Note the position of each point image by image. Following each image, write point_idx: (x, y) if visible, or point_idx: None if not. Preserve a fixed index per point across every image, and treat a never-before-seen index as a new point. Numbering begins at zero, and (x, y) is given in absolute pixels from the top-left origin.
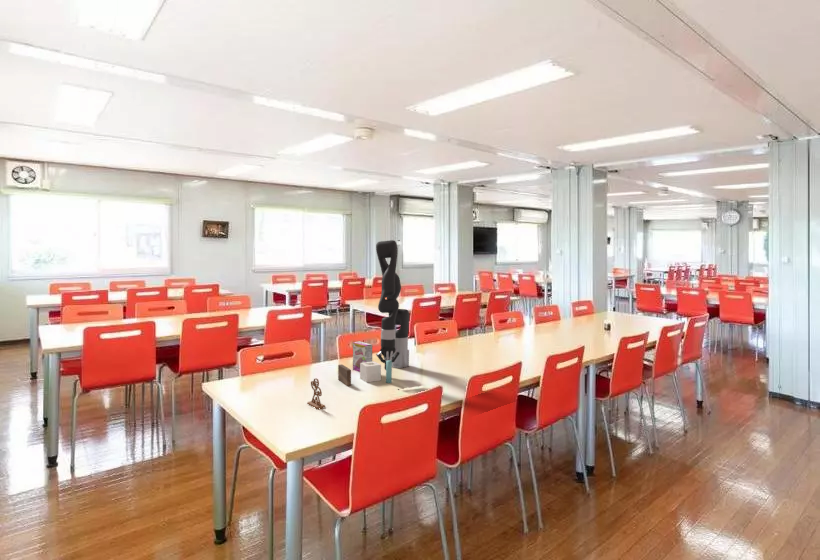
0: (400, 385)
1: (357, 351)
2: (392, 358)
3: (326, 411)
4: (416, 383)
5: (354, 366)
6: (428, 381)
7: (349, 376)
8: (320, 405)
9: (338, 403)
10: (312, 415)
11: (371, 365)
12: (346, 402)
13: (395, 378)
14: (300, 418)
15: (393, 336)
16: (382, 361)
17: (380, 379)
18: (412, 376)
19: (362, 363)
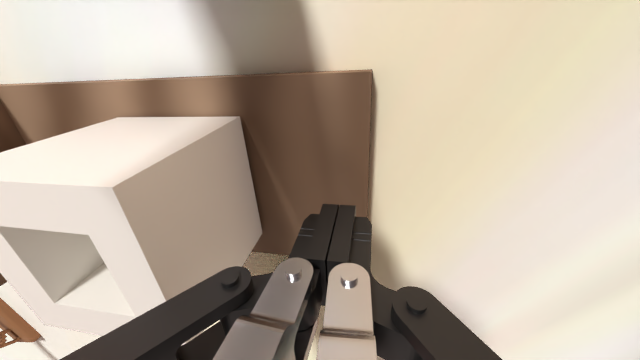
0: None
1: None
2: (438, 354)
3: (52, 354)
4: (477, 333)
5: None
6: (591, 346)
7: (2, 277)
8: (19, 338)
9: (71, 332)
10: (25, 354)
11: (88, 323)
12: (95, 337)
13: (424, 184)
14: (5, 352)
15: None
16: (210, 339)
17: (257, 236)
18: (622, 203)
19: None
